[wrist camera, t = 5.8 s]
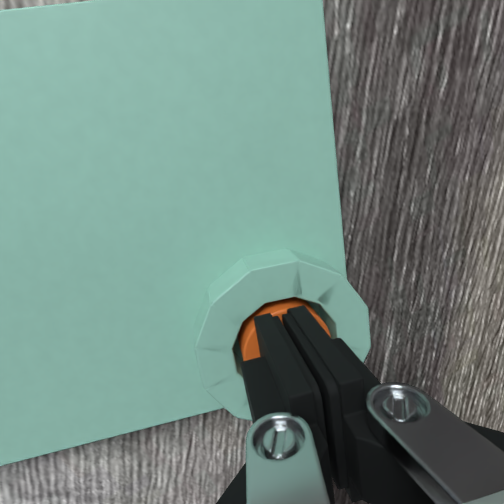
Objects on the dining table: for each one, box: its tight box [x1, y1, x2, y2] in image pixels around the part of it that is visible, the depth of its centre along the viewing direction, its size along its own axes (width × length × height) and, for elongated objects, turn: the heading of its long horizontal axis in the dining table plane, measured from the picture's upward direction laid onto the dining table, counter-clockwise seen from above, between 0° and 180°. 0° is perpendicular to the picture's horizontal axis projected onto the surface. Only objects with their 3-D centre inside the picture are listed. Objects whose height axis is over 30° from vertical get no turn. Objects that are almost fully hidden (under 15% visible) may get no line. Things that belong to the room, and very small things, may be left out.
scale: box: [0, 0, 371, 466], centre depth 11 cm, size 16×14×3 cm
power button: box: [238, 297, 331, 361], centre depth 12 cm, size 3×3×2 cm
